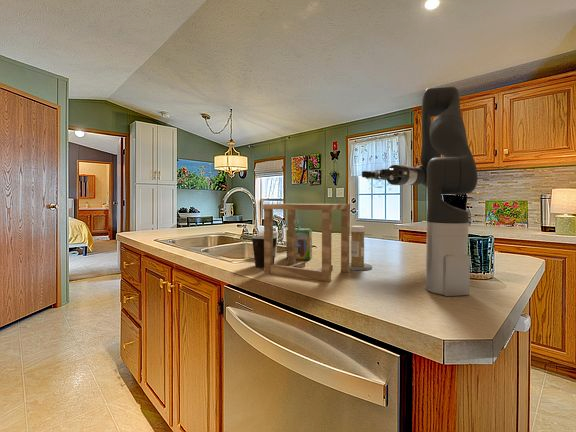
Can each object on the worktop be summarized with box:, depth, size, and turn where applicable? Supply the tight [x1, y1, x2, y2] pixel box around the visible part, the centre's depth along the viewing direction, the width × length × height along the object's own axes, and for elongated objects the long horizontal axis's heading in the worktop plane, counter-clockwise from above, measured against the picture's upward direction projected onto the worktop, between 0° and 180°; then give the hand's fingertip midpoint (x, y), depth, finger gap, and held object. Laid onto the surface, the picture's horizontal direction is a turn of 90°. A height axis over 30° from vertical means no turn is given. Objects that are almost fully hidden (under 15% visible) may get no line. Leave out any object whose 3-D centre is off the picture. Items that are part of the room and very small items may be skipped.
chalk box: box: [285, 220, 313, 261], centre depth 125 cm, size 9×9×15 cm
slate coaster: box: [349, 262, 373, 272], centre depth 108 cm, size 10×10×1 cm
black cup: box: [257, 230, 279, 257], centre depth 129 cm, size 8×8×10 cm
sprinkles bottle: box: [350, 225, 366, 267], centre depth 107 cm, size 5×5×14 cm
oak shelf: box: [262, 203, 351, 283], centre depth 100 cm, size 17×22×22 cm
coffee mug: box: [251, 235, 278, 269], centre depth 109 cm, size 12×9×10 cm
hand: (371, 173), depth 110 cm, fingers open, 8 cm apart
